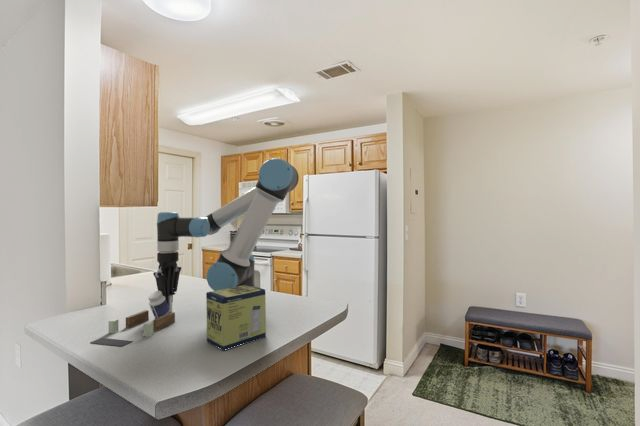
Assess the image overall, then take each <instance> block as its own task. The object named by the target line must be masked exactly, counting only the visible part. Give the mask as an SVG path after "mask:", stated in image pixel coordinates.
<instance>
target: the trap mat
mask: <svg viewBox="0 0 640 426" xmlns="http://www.w3.org/2000/svg"><path fill="white" fill-rule="evenodd" d="M89 343H90V344H93V345H96V344H97V345H103V346H110V347H111V346H112V347H120V348H121V347H124V346H126V345H128V344H130V343H133V340H127V339H126V340H125V339H119V338H118V339H116V338H107V337H99V338H98V339H95V340H93V341H90V342H89Z"/></svg>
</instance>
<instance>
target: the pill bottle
mask: <svg viewBox="0 0 640 426" xmlns="http://www.w3.org/2000/svg"><path fill="white" fill-rule="evenodd" d="M147 298H148V300H149V302H148V305H149V307H150V310H151V312H152V314H153V316H154V320H155V319H157V318H159V317H162V316H164V315H166V314H168V313H171V310H170V308H169V305H168V303H167V300H166V298H165V296H163V295H162V292H161V291H158V290H156V291H153V292H151V293H150V294H148V297H147Z"/></svg>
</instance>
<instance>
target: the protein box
mask: <svg viewBox="0 0 640 426" xmlns="http://www.w3.org/2000/svg"><path fill="white" fill-rule="evenodd" d="M205 295H206V298H205V299H206V300H205V301H206V342H207V341H208V342H207V343H209V342H210V343H211V344H210V343H209V344H210V345H212V344H213V345H212V346H214V345H215V346H217V347H219V348H221V349H222V350H225V349H228V348H231V347H234V346H237V345H240V344H243V343H246V342H249V343H251V342H250V341H252V342H254V341H253V340H255V341H257V340H256V339H258V340H261V339H264V338H266V337H267V333H266V332H267V331H266V330H267V329H266V327H267V324H266V323H267V322H266V317H267V316H266V313H267V312H266V311H267V310H266V289H264V288H261V287H257V286H255V285H254V286H250V285H243V286H238V287H233V288H228V289H223V290H218V291H214V290H212V291H208V292H206V293H205ZM263 337H264V338H263ZM260 338H261V339H260ZM246 344H247V343H246ZM243 345H244V344H243ZM215 346H214V347H215ZM240 346H241V345H240ZM217 347H216V348H217ZM237 347H238V346H237ZM219 348H218V349H219ZM234 348H235V347H234ZM221 349H220V350H221ZM231 349H232V348H231ZM222 350H221V351H222ZM228 350H229V349H228ZM225 351H226V350H225Z"/></svg>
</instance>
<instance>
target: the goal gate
mask: <svg viewBox="0 0 640 426" xmlns="http://www.w3.org/2000/svg"><path fill="white" fill-rule="evenodd" d="M118 332H119V319H117V318H116V319H115V318H113V319H110V320H108V334H115V333H118ZM153 335H154V330H153V321H147V322H145V323H143V337H146V338H149V337H151V336H153Z"/></svg>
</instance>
